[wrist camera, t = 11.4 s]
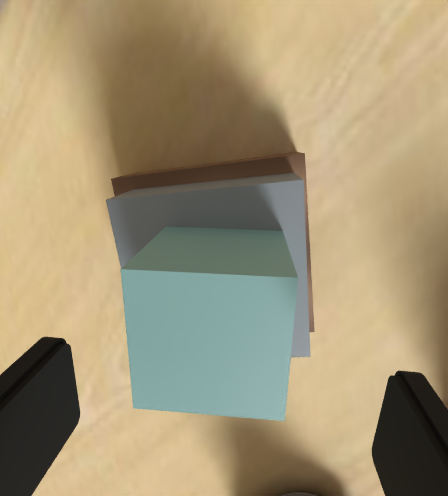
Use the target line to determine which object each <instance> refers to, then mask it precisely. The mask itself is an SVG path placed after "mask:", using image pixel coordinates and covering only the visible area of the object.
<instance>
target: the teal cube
mask: <svg viewBox="0 0 448 496" xmlns="http://www.w3.org/2000/svg"><path fill="white" fill-rule="evenodd" d="M121 278H122V289H123V300H124V311H125V322H126V333H127V344H128V355H129V366H130V377H131V388H132V399H133V408H136V409H148V410H160V411H172V412H184V413H196V414H207V415H219V416H231V417H243V418H255V419H267V420H278V421H285V412H286V401H287V391H288V380H289V370H290V359H291V349H292V338H293V328H294V317H295V307H296V296H297V286H298V276H297V273H296V270H295V267H294V263H293V260H292V257H291V254H290V251H289V248H288V245H287V242H286V239H285V236H284V233H283V231H276V230H250V229H223V228H197V227H170V226H166V227H165V228H164V229H163V230H162V231H161V232H160V233H159V234H157V235H156V236H155V237H154V238H153V239H152V240H151V241H150V242H149V243H148V244H147V245H146V246H145V247H144V248H143V249H142V250H141V251H139V252H138V253H137V254H136V255H135V256H134V257H133V258H132V259H131V260H130V261H129V262H128V263H127V264H126V265H125V266H124V267H122V268H121Z"/></svg>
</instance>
